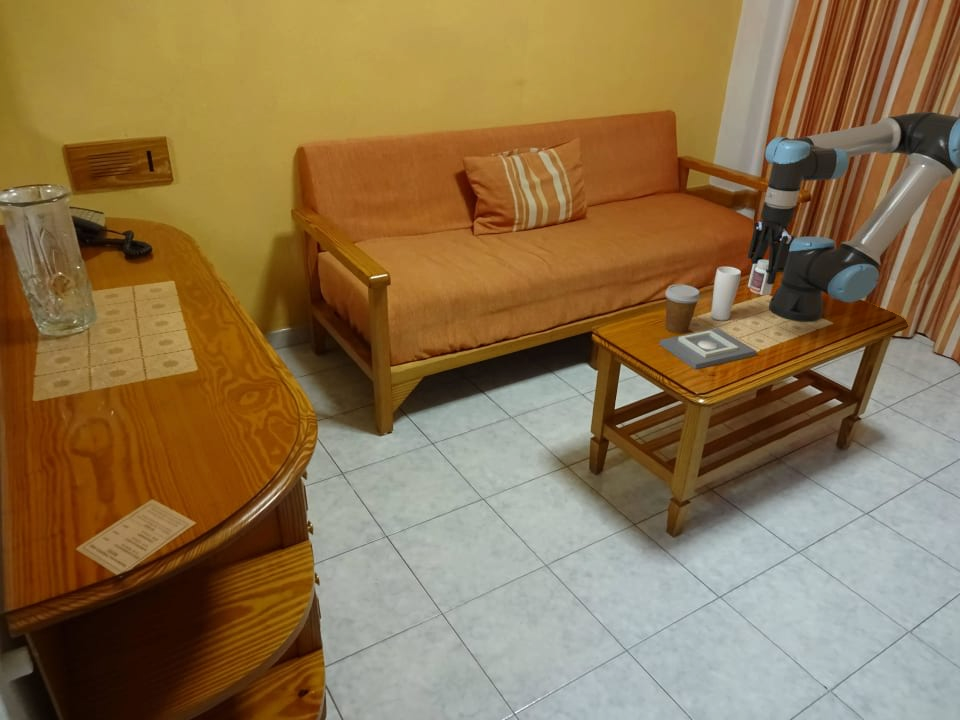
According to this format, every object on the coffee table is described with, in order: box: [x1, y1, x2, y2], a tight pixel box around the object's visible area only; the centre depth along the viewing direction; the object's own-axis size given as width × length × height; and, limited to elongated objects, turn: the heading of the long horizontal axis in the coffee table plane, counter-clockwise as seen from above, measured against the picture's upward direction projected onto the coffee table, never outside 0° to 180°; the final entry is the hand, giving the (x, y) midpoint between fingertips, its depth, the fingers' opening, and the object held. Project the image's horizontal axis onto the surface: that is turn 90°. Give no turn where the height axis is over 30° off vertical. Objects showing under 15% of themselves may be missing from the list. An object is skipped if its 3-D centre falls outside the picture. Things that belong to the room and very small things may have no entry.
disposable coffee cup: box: [664, 284, 701, 334], centre depth 193 cm, size 10×10×12 cm
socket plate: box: [659, 327, 757, 370], centre depth 183 cm, size 20×15×2 cm
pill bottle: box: [749, 259, 769, 295], centre depth 181 cm, size 5×5×8 cm
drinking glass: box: [710, 266, 742, 322], centre depth 199 cm, size 7×7×15 cm
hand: (758, 290), depth 183 cm, fingers closed on pill bottle, 5 cm apart
